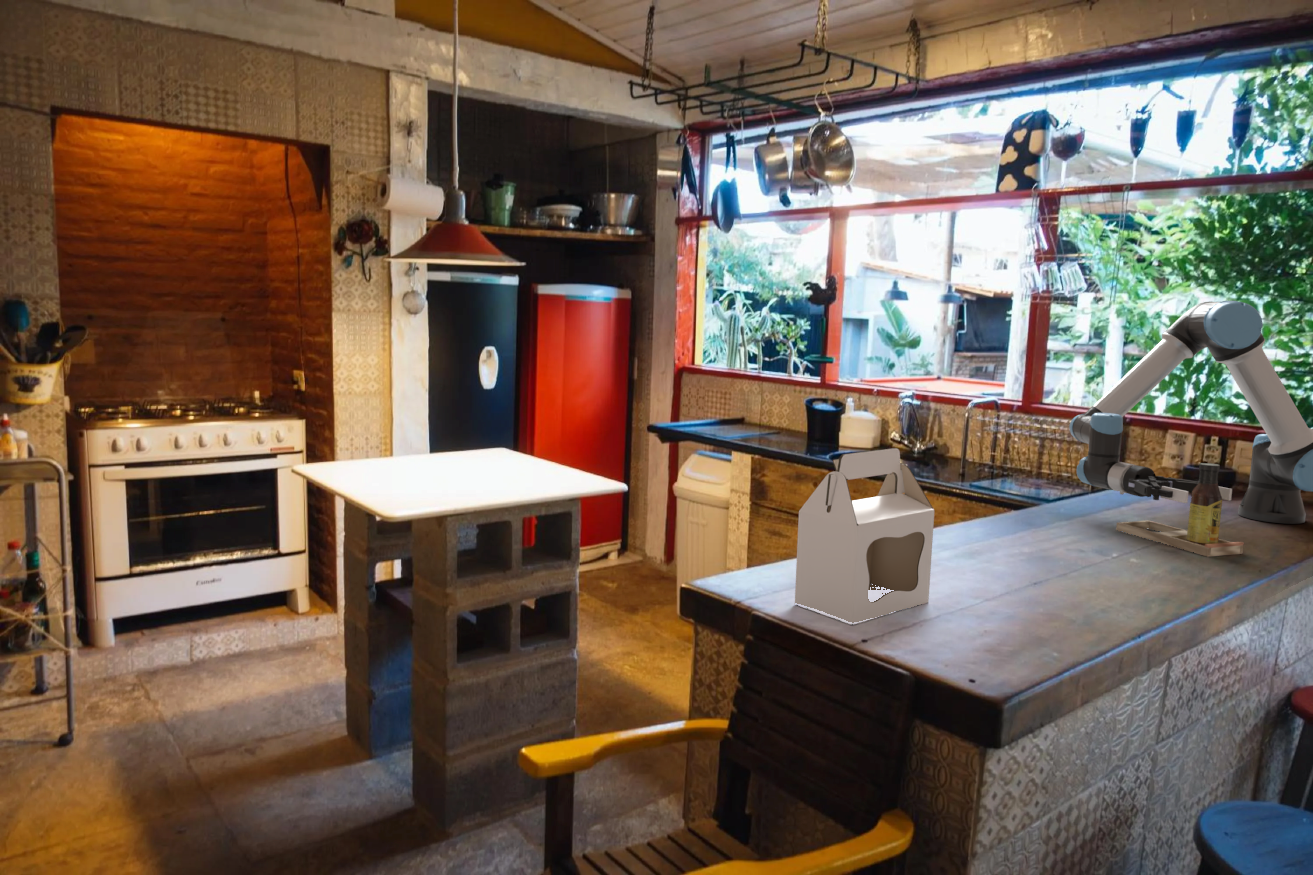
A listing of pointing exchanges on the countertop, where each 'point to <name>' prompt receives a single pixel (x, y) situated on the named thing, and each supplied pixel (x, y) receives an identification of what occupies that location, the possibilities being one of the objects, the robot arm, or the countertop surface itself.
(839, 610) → the gable box
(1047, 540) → the countertop surface
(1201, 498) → the sauce bottle
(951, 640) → the countertop surface
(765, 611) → the countertop surface
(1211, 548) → the bottle rack
